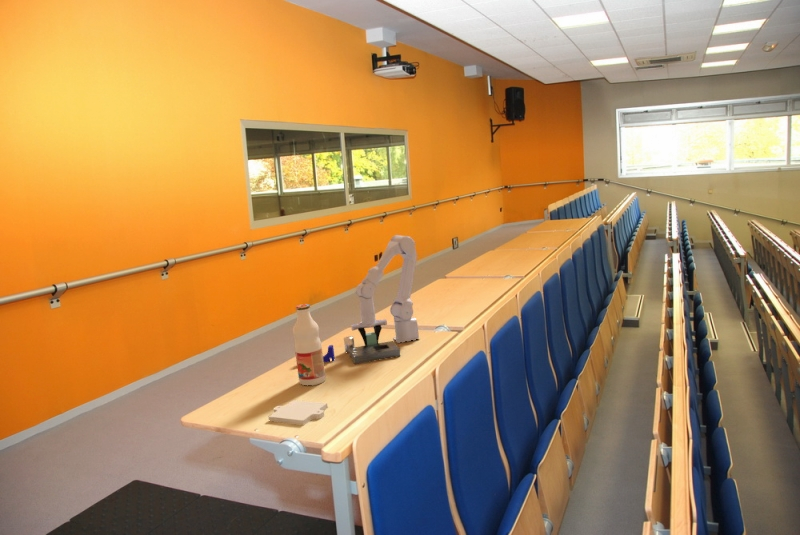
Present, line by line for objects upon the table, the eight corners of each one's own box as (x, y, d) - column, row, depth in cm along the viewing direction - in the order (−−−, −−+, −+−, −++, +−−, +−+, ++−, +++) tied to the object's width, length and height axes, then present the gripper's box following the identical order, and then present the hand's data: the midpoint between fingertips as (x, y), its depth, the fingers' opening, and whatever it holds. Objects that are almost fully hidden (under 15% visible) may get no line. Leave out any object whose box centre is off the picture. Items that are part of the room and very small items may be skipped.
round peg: (354, 349, 250) (352, 335, 249) (355, 352, 246) (354, 338, 245) (344, 351, 249) (343, 337, 248) (346, 354, 245) (344, 339, 244)
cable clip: (302, 365, 237) (300, 351, 236) (305, 362, 241) (303, 347, 240) (333, 363, 236) (331, 348, 235) (334, 359, 240) (333, 345, 239)
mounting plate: (334, 409, 190) (333, 403, 190) (311, 427, 179) (310, 421, 178) (288, 404, 198) (287, 399, 198) (262, 421, 187) (261, 415, 187)
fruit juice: (328, 382, 214) (318, 305, 209) (302, 388, 211) (291, 310, 206) (323, 375, 223) (313, 300, 218) (297, 380, 220) (287, 305, 215)
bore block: (393, 348, 246) (392, 340, 246) (400, 356, 235) (399, 348, 234) (349, 355, 243) (348, 348, 242) (354, 364, 231) (353, 356, 231)
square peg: (375, 346, 252) (374, 332, 251) (377, 348, 248) (375, 334, 247) (366, 347, 251) (364, 333, 250) (368, 350, 247) (366, 336, 246)
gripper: (351, 317, 242) (355, 349, 244) (387, 311, 245) (390, 343, 247) (349, 313, 248) (352, 345, 251) (383, 308, 252) (387, 339, 254)
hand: (371, 344), depth 249 cm, fingers closed on square peg, 4 cm apart
